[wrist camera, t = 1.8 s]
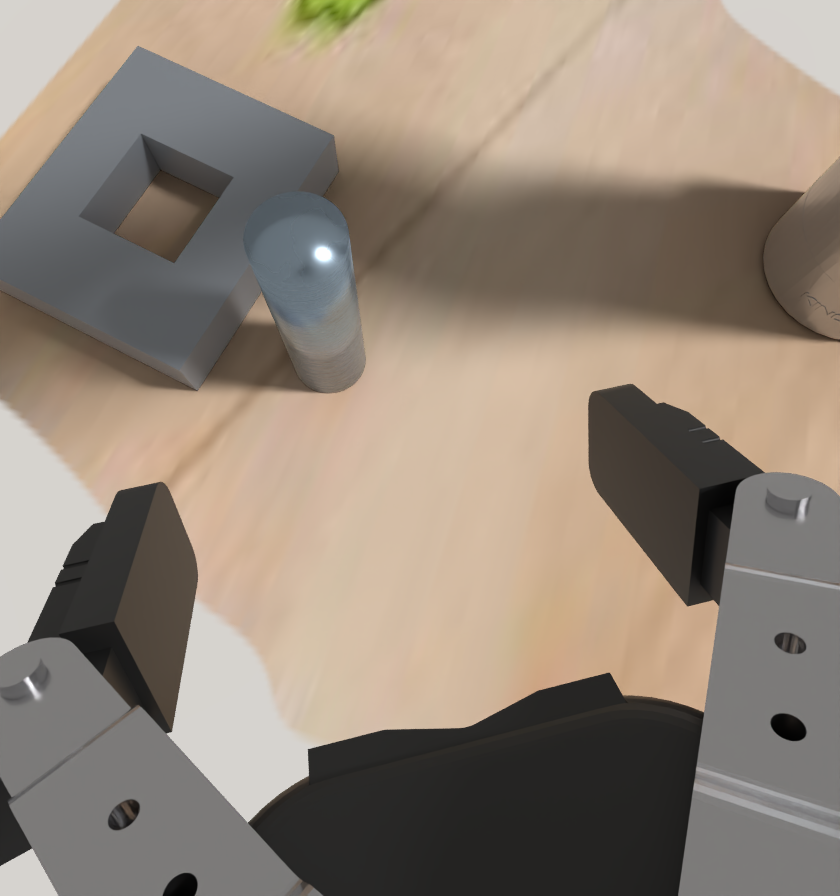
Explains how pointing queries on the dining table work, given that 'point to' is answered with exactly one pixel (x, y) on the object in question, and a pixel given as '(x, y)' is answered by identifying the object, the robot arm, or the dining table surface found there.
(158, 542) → the robot arm
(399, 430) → the dining table surface
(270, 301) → the steel pin
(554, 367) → the dining table surface
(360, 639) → the dining table surface
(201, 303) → the socket stand
